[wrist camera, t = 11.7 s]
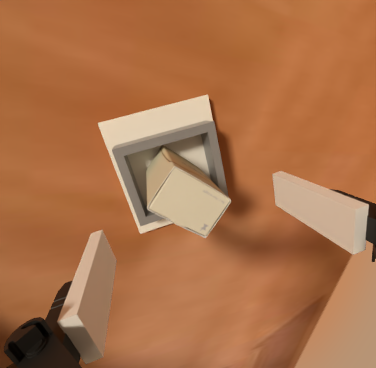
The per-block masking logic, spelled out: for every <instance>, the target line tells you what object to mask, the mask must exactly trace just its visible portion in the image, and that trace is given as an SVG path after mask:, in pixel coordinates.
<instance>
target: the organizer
mask: <svg viewBox="0 0 376 368" xmlns="http://www.w3.org/2000/svg"><path fill="white" fill-rule="evenodd" d="M98 126H99V128H100V131H101V133H102V136H103V139H104V141H105V144H106V146H107V149H108V152H109V154H110V157H111V159H112V162H113V165H114V167H115V170H116V172H117V175H118V177H119V180H120V183H121V185H122V188H123V190H124V193H125V196H126V198H127V201H128V203H129V206H130V209H131V211H132V214H133V216H134V219H135V222H136V224H137V227H138V229H139V232H140V234H141V233H144V232H147V231H150V230H153V229H156V228H159V227H162V226H165V225H168V224H171V223H172V222H170V221H168V220H166V219H164V218H162V217H160V216H158V215H156V214H155V213H153V212H151V211H149V210H148V209H147V181H146V170H147V168H148V166H149V165H150V163H151V161H152V160H153V158H154V157H155V155H156V153H157V152H158V150H159V149H160V147H161V146H162V145H164V146H165V147H167V148H169V149H170V150H172V151H174V152H175V153H177V154H178V155H180V156H182V157H183V158H185V159H186V160H188V161H189V162H191V163H192V164H194V165H195V166H197V167H198V168H199V169H200V170H201V171H202V172H203V173H204V174H205V175H206V176H207V177H208V178H209V179H210V180H211V181H212V182H213V183H214V184H215V185H216V186H217V187H218V188H219V189H220V190H221V191H222V192H223V193H224V194H225V195H226V196H228V191H227V186H226V180H225V175H224V170H223V165H222V159H221V154H220V149H219V144H218V138H217V133H216V128H215V123H214V121H213V119H212V113H211V108H210V103H209V98H208V95H204V96H200V97H196V98H193V99H189V100H185V101H181V102H177V103H173V104H170V105H166V106H162V107H158V108H154V109H150V110H146V111H143V112H139V113H135V114H131V115H127V116H123V117H120V118H116V119H112V120H108V121H104V122H100V123H98ZM228 197H229V196H228Z"/></svg>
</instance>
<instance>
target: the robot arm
mask: <svg viewBox="0 0 376 368" xmlns="http://www.w3.org/2000/svg"><path fill="white" fill-rule="evenodd" d="M273 184H274V193H275V203H276V206H278V207H280V208H281V209H283V210H284V211H286V212H287V213H289V214H290V215H292V216H294V217H295V218H297V219H298V220H300V221H301V222H303V223H304V224H306V225H308V226H309V227H311V228H312V229H314V230H315V231H317V232H318V233H320V234H322V235H323V236H325V237H326V238H328V239H329V240H331V241H332V242H334V243H336V244H337V245H339V246H340V247H342V248H343V249H345V250H346V251H348V252H350V253H351V254H353V255H354V254H357V253H359V252H361V251H364V250H365V248H366V240H367V241H369V242H371V243H373V252H372V262H375V259H376V204H374V203H372V202H369V201H366V200H364V199H361V198H358V197H355V196H353V195H350V194H349V195H348V194H347V193H345V192H342V191H339V190H333V189H327V188H324V187H322V186H319V185H317V184H314V183H311V182H309V181H306V180H304V179H301V178H298V177H296V176H293V175H290V174H288V173H285V172H283V171H280V172H277V173H274V174H273ZM116 262H117V261H116V258H115V256H114V254H113V252H112V250H111V247H110V245H109V243H108V241H107V239H106V237H105V234H104V232H103V230H100V231H97V232H94V233H91V235H90V238H89V240H88V243H87V245H86V248H85V251H84V253H83V256H82V258H81V261H80V264H79V266H78V269H77V271H76V274H75V276H74V279H73V281H70V282H67V283H65V284H64V285H63V286H62V288H61V289H60V290H59V291H58V293H57V295H56V297H55V299H54V302H53V304H52V306H51V310H50V311H49V313H48V315H47V317H46V320H44V319H43V318H41V317H39V318H34V319H31V320H29V321H27V322H26V323H24V324H23V325H21V326H20V327H19V328H18V329H16V330H15V331H14V332H13V333H12V334H11V336H10V337H9V338H8V340H7V341H6V343H5V346H4V352H5V354H6V355H7V356H8V357H9V358H10V359H11V360H12V362H13V364H12V365H10V366H8V367H7V368H82V367H81V366H80V365H79V360H80V357H81V358H82V359H83V361H84V362H85V364H88V363H90V362H93V361H95V360H98V359H100V358H103V356H104V349H105V342H106V334H107V327H108V320H109V313H110V305H111V298H112V291H113V284H114V276H115V269H116Z"/></svg>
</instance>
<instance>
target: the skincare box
mask: <svg viewBox="0 0 376 368" xmlns="http://www.w3.org/2000/svg"><path fill="white" fill-rule="evenodd" d="M146 181H147V209H148V210H149V211H151V212H153V213H155V214H156V215H158V216H160V217H162V218H164V219H166V220H168V221H170V222H172V223H174V224H176V225H178V226H180V227H183V228H185V229H187V230H189V231H191V232H193V233H195V234H197V235H200V236H202V237H204V238H206V237H207V236H208V234H209V233H210V232H211V230H212V229H213V227H214V226H215V225H216V223H217V222H218V220H219V219H220V217H221V216H222V215H223V213H224V212H225V210H226V209H227V207H228V206H229V204H230V203H231V199H230V198H229V197H228V196H226V195H225V194H224V193H223V192H222V191H221V190H220V189H219V188H218V187H217V186H216V185H215V184H214V183H213V182H212V181H211V180H210V179H209V178H208V177H207V176H206V175H205V174H204V173H203V172H202V171H201V170H200V169H199V168H198V167H197V166H195V165H194V164H192V163H191V162H189V161H188V160H186V159H185V158H183V157H182V156H180V155H178V154H177V153H175V152H174V151H172V150H170V149H169V148H167V147H165V146H164V145H162V146H161V147H160V149H159V150H158V152H157V153H156V155H155V157H154V158H153V160H152V161H151V163H150V165H149V166H148V168H147V170H146Z"/></svg>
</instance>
